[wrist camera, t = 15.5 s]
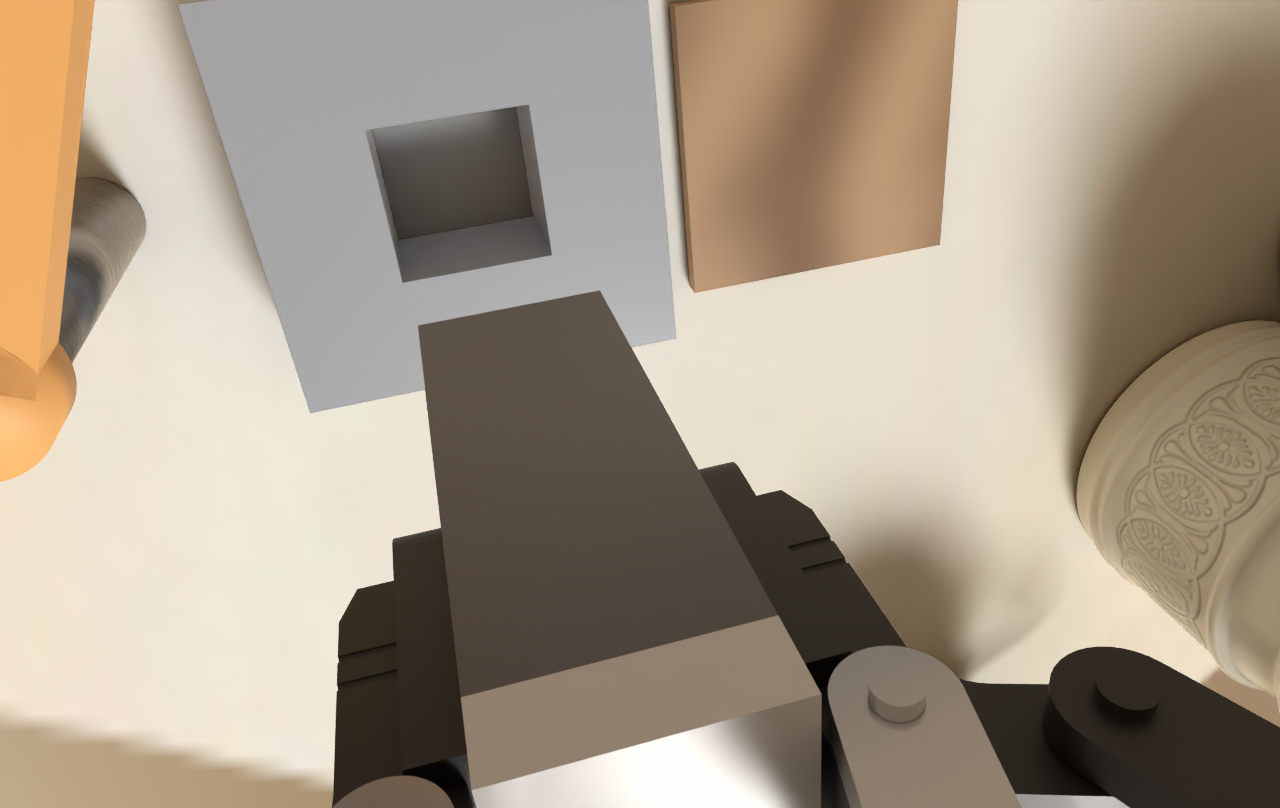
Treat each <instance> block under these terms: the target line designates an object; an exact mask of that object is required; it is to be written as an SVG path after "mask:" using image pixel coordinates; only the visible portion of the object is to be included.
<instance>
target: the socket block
mask: <svg viewBox="0 0 1280 808" xmlns="http://www.w3.org/2000/svg"><path fill="white" fill-rule="evenodd" d="M178 8H179V11H180V15H181V18H182V21H183V24H184V27H185V30H186V33H187V36H188V39H189V42H190V45H191V48H192V51H193V54H194V58H195V61H196V64H197V67H198V70H199V73H200V76H201V79H202V82H203V85H204V88H205V91H206V94H207V97H208V100H209V104H210V107H211V110H212V113H213V116H214V119H215V122H216V125H217V128H218V131H219V134H220V137H221V140H222V143H223V147H224V150H225V153H226V156H227V159H228V162H229V165H230V168H231V171H232V174H233V177H234V180H235V183H236V186H237V190H238V193H239V196H240V199H241V202H242V205H243V208H244V211H245V214H246V217H247V220H248V223H249V226H250V229H251V232H252V236H253V239H254V242H255V245H256V248H257V251H258V254H259V257H260V260H261V263H262V266H263V269H264V272H265V275H266V279H267V282H268V285H269V288H270V291H271V294H272V297H273V300H274V303H275V306H276V309H277V312H278V315H279V318H280V321H281V325H282V328H283V331H284V334H285V337H286V340H287V343H288V346H289V349H290V352H291V355H292V358H293V361H294V364H295V368H296V371H297V374H298V377H299V380H300V383H301V386H302V389H303V392H304V395H305V398H306V401H307V404H308V407H309V411H310V413H314V412H318V411H323V410H328V409H333V408H338V407H343V406H348V405H353V404H358V403H362V402H367V401H372V400H377V399H382V398H387V397H392V396H397V395H402V394H406V393H411V392H416V391H421V390H425V384H424V375H423V366H422V358H421V349H420V340H419V332H418V325H423V324H428V323H433V322H438V321H443V320H449V319H454V318H459V317H464V316H469V315H475V314H480V313H485V312H490V311H495V310H500V309H506V308H511V307H516V306H521V305H526V304H531V303H537V302H542V301H547V300H552V299H557V298H563V297H568V296H573V295H578V294H583V293H588V292H594V291H599V290H600V292H601V293H602V295H603V297H604V299H605V301H606V302H607V304H608V306H609V308H610V310H611V312H612V313H613V315H614V317H615V319H616V321H617V322H618V324H619V326H620V328H621V330H622V332H623V333H624V335H625V337H626V339H627V341H628V343H629V344H630V346H631V348H632V347H636V346H641V345H646V344H651V343H656V342H661V341H666V340H671V339H676V328H675V316H674V305H673V293H672V281H671V269H670V257H669V245H668V233H667V221H666V209H665V197H664V186H663V174H662V162H661V150H660V138H659V126H658V114H657V102H656V90H655V79H654V67H653V55H652V43H651V31H650V19H649V7H648V0H183V1H181V2H180V3H179V4H178ZM510 107H516V112H517V118H518V124H519V130H520V137H521V143H522V149H523V155H524V162H525V168H526V174H527V180H528V186H529V193H530V199H531V205H532V211H533V216H531V217H525V218H519V219H514V220H508V221H502V222H497V223H491V224H485V225H480V226H474V227H469V228H463V229H457V230H452V231H446V232H440V233H435V234H429V235H423V236H418V237H412V238H407V239H401V240H398V236H397V232H396V228H395V223H394V219H393V215H392V211H391V207H390V203H389V199H388V194H387V190H386V186H385V182H384V178H383V174H382V170H381V165H380V161H379V157H378V153H377V149H376V145H375V141H374V136H373V132H372V129H376V128H383V127H389V126H395V125H402V124H408V123H415V122H421V121H427V120H434V119H440V118H446V117H453V116H459V115H465V114H472V113H478V112H484V111H491V110H497V109H503V108H510Z"/></svg>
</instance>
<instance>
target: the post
mask: <svg viewBox="0 0 1280 808" xmlns="http://www.w3.org/2000/svg"><path fill="white" fill-rule="evenodd" d="M145 232H146V220H145V216H144V212H143V210H142V208H141V206H140V205H139V203H138V202H137V200H136V199H135V198H134V197H133V196H132V195H131V194H130V193H129V192H128V191H126V190H125V189H124V188H122V187H121V186H119V185H117V184H115V183H113V182H110V181H107V180H104V179H99V178H81V179H76V181H75V191H74V200H73V210H72V219H71V229H70V238H69V248H68V257H67V267H66V276H65V286H64V295H63V305H62V314H61V324H60V333H59V344H60V345H61V346H62V347H63V349H64V350H65V352H66V353H67V355H68V357H69V359H70V361H71V363H73V361H74V359H75V357H76V356H77V354H78V352H79V350H80V349H81V347H82V345H83V343H84V342H85V340H86V338H87V337H88V335H89V333H90V331H91V330H92V328H93V326H94V324H95V323H96V321H97V319H98V317H99V316H100V314H101V312H102V311H103V309H104V307H105V305H106V304H107V302H108V300H109V298H110V297H111V295H112V293H113V291H114V290H115V288H116V286H117V284H118V283H119V281H120V279H121V278H122V276H123V274H124V272H125V271H126V269H127V267H128V265H129V264H130V262H131V260H132V258H133V257H134V255H135V253H136V252H137V250H138V248H139V246H140V245H141V243H142V241H143V239H144V236H145Z"/></svg>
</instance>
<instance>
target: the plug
mask: <svg viewBox="0 0 1280 808" xmlns="http://www.w3.org/2000/svg"><path fill="white" fill-rule="evenodd" d="M418 332H419V340H420V349H421V358H422V366H423V375H424V384H425V392H426V401H427V410H428V418H429V427H430V436H431V444H432V453H433V462H434V470H435V479H436V488H437V496H438V505H439V513H440V522H441V531H442V539H443V548H444V557H445V565H446V574H447V583H448V591H449V600H450V609H451V617H452V626H453V635H454V643H455V652H456V661H457V669H458V678H459V686H460V695H461V704H462V712H463V721H464V730H465V738H466V747H467V756H468V764H469V773H470V782H471V790H472V794H473V797H474V801H475V804H476V807H477V808H821V706H822V694H821V692H820V690H819V689H818V687H817V685H816V683H815V681H814V679H813V678H812V676H811V674H810V672H809V670H808V668H807V667H806V665H805V663H804V661H803V659H802V658H801V656H800V654H799V652H798V650H797V648H796V647H795V645H794V643H793V641H792V639H791V638H790V636H789V634H788V632H787V630H786V628H785V627H784V625H783V623H782V621H781V619H780V617H779V616H778V614H777V612H776V610H775V608H774V607H773V605H772V603H771V601H770V599H769V597H768V596H767V594H766V592H765V590H764V588H763V587H762V585H761V583H760V581H759V579H758V577H757V576H756V574H755V572H754V570H753V568H752V566H751V565H750V563H749V561H748V559H747V557H746V556H745V554H744V552H743V550H742V548H741V546H740V545H739V543H738V541H737V539H736V537H735V536H734V534H733V532H732V530H731V528H730V526H729V525H728V523H727V521H726V519H725V517H724V516H723V514H722V512H721V510H720V508H719V506H718V505H717V503H716V501H715V499H714V497H713V495H712V494H711V492H710V490H709V488H708V486H707V485H706V483H705V481H704V479H703V477H702V475H701V474H700V472H699V470H698V468H697V466H696V465H695V463H694V461H693V459H692V457H691V455H690V454H689V452H688V450H687V448H686V446H685V444H684V443H683V441H682V439H681V437H680V435H679V434H678V432H677V430H676V428H675V426H674V424H673V423H672V421H671V419H670V417H669V415H668V414H667V412H666V410H665V408H664V406H663V404H662V403H661V401H660V399H659V397H658V395H657V394H656V392H655V390H654V388H653V386H652V384H651V383H650V381H649V379H648V377H647V375H646V373H645V372H644V370H643V368H642V366H641V364H640V363H639V361H638V359H637V357H636V355H635V353H634V352H633V350H632V348H631V346H630V344H629V343H628V341H627V339H626V337H625V335H624V333H623V332H622V330H621V328H620V326H619V324H618V322H617V321H616V319H615V317H614V315H613V313H612V312H611V310H610V308H609V306H608V304H607V302H606V301H605V299H604V297H603V295H602V293H601V292H600V290H599V291H594V292H588V293H583V294H578V295H573V296H568V297H563V298H557V299H552V300H547V301H542V302H537V303H531V304H526V305H521V306H516V307H511V308H506V309H500V310H495V311H490V312H485V313H480V314H475V315H469V316H464V317H459V318H454V319H449V320H443V321H438V322H433V323H428V324H423V325H418Z"/></svg>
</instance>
